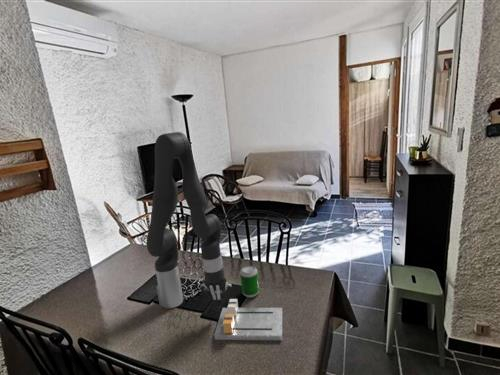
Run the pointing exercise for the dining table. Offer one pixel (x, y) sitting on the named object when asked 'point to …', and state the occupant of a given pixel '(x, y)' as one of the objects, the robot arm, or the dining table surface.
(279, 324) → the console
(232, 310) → the fader cap cream
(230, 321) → the fader cap orange
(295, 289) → the dining table surface
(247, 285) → the soda can
